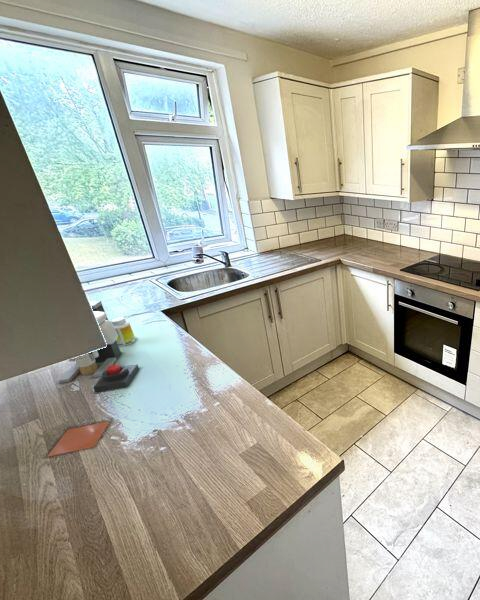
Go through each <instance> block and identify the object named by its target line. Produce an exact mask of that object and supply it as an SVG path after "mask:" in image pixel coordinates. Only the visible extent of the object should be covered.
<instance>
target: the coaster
mask: <svg viewBox="0 0 480 600" xmlns="http://www.w3.org/2000/svg"><path fill="white" fill-rule="evenodd" d="M110 423H111V420H109V421H104V422H97V423H92V424H88V425H83V426H82V425H81V426H77V427H72V428H68V429H67V430H66V432H65V433H64V434H63V435H62V436H61V438H60V439H58V441H57V443H56V444H55V446H54V447H53V448H52V449H51V451H50V452H49V453H48V455H47V456H46V457H47V458H49V457H53V456H59V455H63V454H67V453H72V452H78V451H82V450H86V449H87V450H88V449H92V448H95V446H96V445H97V443H98V442H99V440H100V438H101V437H102V436H103V434H104V432H105V431H106V429H107V427H108V426H109V425H110Z"/></svg>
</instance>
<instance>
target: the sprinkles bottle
mask: <svg viewBox="0 0 480 600" xmlns="http://www.w3.org/2000/svg"><path fill="white" fill-rule="evenodd" d="M89 354H90V353H88V354H85V355H83V356H79V357H77V358H74V359H75V361H74V362H75V364H77V366H78V367H79V369H80V374H81V375H84V376H85V375H89V374H94V373H95V372H96V371H97V369H98V368H99V367H100V366H98V364H97V363H96V361H95V358H91V356H90V355H89Z"/></svg>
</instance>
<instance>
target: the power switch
mask: <svg viewBox="0 0 480 600" xmlns="http://www.w3.org/2000/svg"><path fill="white" fill-rule="evenodd" d="M119 365H120V367H121V371H120V372H118V373H115V374H111V375H109V374H108V372H107V370H105V371H104V372H103V373H102V376H101V377H99V380H98V381H96V383H95V384H94V386H93V390H94V392H95V393H101V392H107V391H113V390H118V389H124V388H128V387H129V385H130V384H131V383H132V381H133V379H134V378H135V376H136V374H137V373H138V371H139V370H140V367H139V364H138V363H135V364H130V365H129V364H128V365H124V364H119Z"/></svg>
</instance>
